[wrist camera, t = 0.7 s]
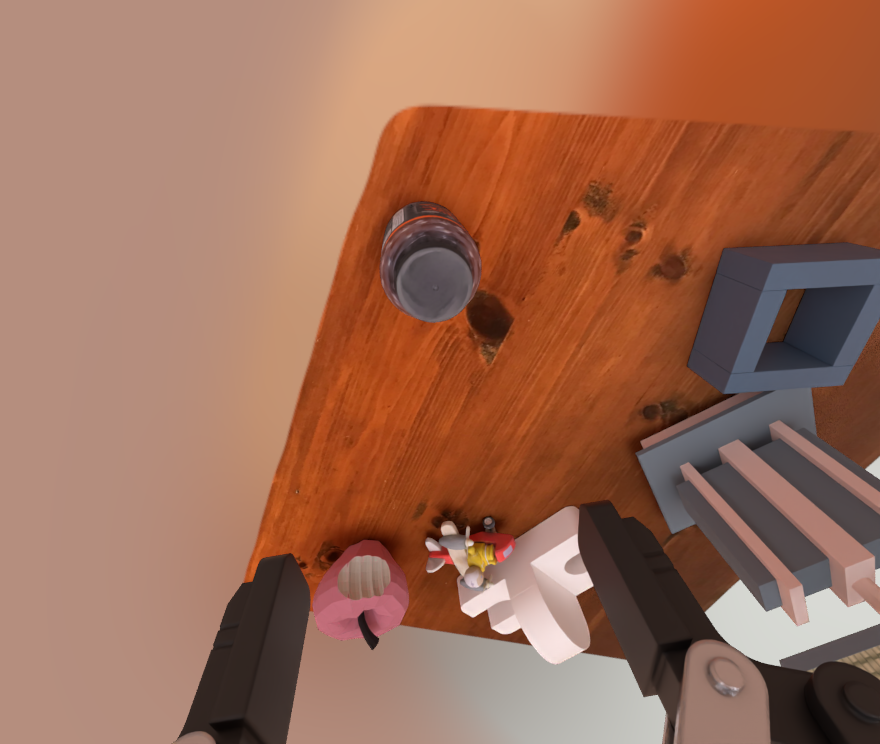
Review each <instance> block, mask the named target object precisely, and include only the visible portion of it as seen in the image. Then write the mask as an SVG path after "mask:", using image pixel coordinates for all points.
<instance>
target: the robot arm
mask: <svg viewBox="0 0 880 744" xmlns="http://www.w3.org/2000/svg"><path fill="white" fill-rule="evenodd" d="M578 546H579V551H580V555H581V558H582V560H583V563H584V565H585V567H586V570H587V572H588V574H589V576H590V579H591V581H592V583H593V585H594V587H595V590H596V592H597V594H598V596H599V599H600V601H601V603H602V605H603V608H604V610H605V612H606V614H607V616H608V619H609V621H610V623H611V625H612V628H613V630H614V632H615V634H616V636H617V639H618V641H619V643H620V645H621V648H622V650H623V652H624V654H625V657H626V659H627V661H628V663H629V665H630V668H631V670H632V672H633V674H634V676H635V679H636V681H637V683H638V685H639V688H640V690H641V692H642V694H643V697H647V696H653V695H658V696H659V698H660V700H661V702H662V704H663V706H664V708H665V710H666V717H665V725H664V734H663V742H662V744H880V680H879V679H878V678H877V677H875V676H873V675H872V674H870V673H869V672H867V671H865V670H863V669H861V668H859V667H856V666H854V665H851V664H848V663H844V662H838V661H829V662H825V663H823V664H821V665H819V666H818V667H817V668H816V669H815V671H814V672H807V671H802V670H796V669H791V668H785V667H780V666H774V665H769V664H765V663H761V662H758V661H755V660H753V659H751V658H749V657H747V656H745V655H744V654H743V653H741V652H740V651H739V650H737V649H735V648H734V647H732V646H731V645H730V644H728V643H727V642H726V641H725V640H724V639H723V638H722V637H721V636H720V634H719V633H718V632H717V631H716V629H715V628H714V626H713V625H712V623H711V622H710V620H709V619H708V617H707V616H706V614H705V613H704V611H703V610H702V608H701V606H700V605H699V603H698V602H697V600H696V599H695V597H694V596H693V594H692V593H691V591H690V590H689V588H688V587H687V585H686V584H685V582H684V581H683V579H682V578H681V576H680V575H679V573H678V571H677V570H676V569H674V566H673V564H672V562H671V561H670V559H669V558H668V556H667V555H666V554H665V553H664V551H663V549H662V547H661V546H660V544H659V543H658V541H657V540H656V538H655V536H654V535H653V533H652V532H651V531H650V530H649V529H648V528H646V527H645V526H644V525H643V524H641V523H640V522H639V521H638V520H637V519H635V518H634V517H629V518H623V519H621V517H620V516H619V514H618V512H617V511H616V509H615V507H614V506H613V504H612V503H611V502H610V501H609V500H603V501H597V502H591V503H585V504H581V505H580V508H579V524H578ZM309 611H310V590H309V586H308V584H307V582H306V580H305V577H304V575H303V573H302V571H301V569H300V567H299V565H298V563H297V561H296V559H295V557H294V556H293V554H291V553H289V554H283V555H278V556H272V557H266V558H263V559H261V561H260V562H259V564H258V567H257V570H256V573H255V576H254V579H253V582H247V583H242V585H241V586H240V587H239V589H238V590H237V592H236V593H235V595H234V596H233V597H232V599H231V600H230V602H229V603H228V605H227V608H226V610H225V613H224V616H223V619H222V622H221V625H220V631H218V633H217V636H216V639H215V642H214V644H213V646H214V648H213V650H211V653H210V656H209V658H208V661H207V664H206V667H205V670H204V672H203V675H202V678H201V681H200V684H199V686H198V690H197V692H196V695H195V698H194V700H193V704H192V706H191V709H190V712H189V715H188V717H187V720H186V723H185V725H184V727H183V730H182V731H181V734H180V735H179V737H178V739H177V740H176V741H175V742H173V743H172V744H286V740H287V735H288V729H289V723H290V718H291V712H292V706H293V701H294V695H295V690H296V684H297V678H298V673H299V667H300V661H301V655H302V650H303V644H304V638H305V633H306V627H307V622H308V616H309Z"/></svg>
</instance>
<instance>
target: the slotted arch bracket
mask: <svg viewBox="0 0 880 744" xmlns="http://www.w3.org/2000/svg"><path fill="white" fill-rule="evenodd" d="M578 524H579V509H578V508H576V507H574V506H568V507H565V508H563V509H562V510H560V511H558V512H557V513H555V514H554V515H552V516H551V517H549V518H548V519H546V520H545V521H543V522H541V523H540V524H538V525H537V526H535V527H534V528H532V529H531V530H529V531H528V532H526V533H525V534H523V535H521V536H520V537H518V538H517V539H515V542H516V546H515V548H514V550H513V552H512V553H511V554H510V555H509V557H508V558H506V559H505V560H504V561H502V562H500V563H499V562H498V561H497V563H496V565H493V564H490V565H489V564H488V565H487V566H485V571H484V572H483V576H484V578H486V579H488V578H489V575H492V580H491V581H490V582H493V583H494V587H492V588H490V587H489V588H487V590H485V591H484V592H483V591H474V590H470V589H467V588H465V587H464V586H462V585H461V584H460V580H461V579H463V576H462V575H460V576H459V577H458V578H457V584H458V591H459V598H460V605H461V610H462V611H463V612H464V613H466V614H468V615H469V616H471V617H475V616H477V615H478V614H480V613H481V612H483V611H485V610H486V609H488V614H489V619H490V624H491V628H492V629H494V630H496V631H497V632H499V633H501V634H509V633H512V632H514V631H516V630H518V629H519V628H522V630H523V632H524V633H525V635H526V636H527V638H528V640H529V641H530V643H531V644H532V645H533V647H534V648H535V649H536V651H537V652H538V653H539V654H540V655H541V656H542V657H543V658H544V659H545V660H547V661H548V662H550V663H552V664H559V663H561V662H563V661H565V660H567V659H569V658H571V657H573V656H574V655H576V654H578V653H580V652H582V651H584V650H586V649H587V648H588V647H589V645H590V635H589V630H588V627H587V623H586V620H585V618H584V615H583V613H582V610H581V608H580V605H579V603H578V600H577V598H576V596H577V595H578V594H580V593H582V592H584V591H585V590H587V589H589V588H591V587H592V586H594V585H593V583H592V581H591V579H590V576H589V574H588V572H587V570H586V567H585V565H584V563H583V560H582V558H581V555H580V551H579V546H578ZM482 592H483V593H482Z"/></svg>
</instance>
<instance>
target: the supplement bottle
mask: <svg viewBox="0 0 880 744" xmlns="http://www.w3.org/2000/svg"><path fill="white" fill-rule="evenodd" d="M380 278H381V283H382V286H383V289H384V291H385V293H386V295H387V297H388V298H389V300H390V301H391V302H392V303H393V304H394V305H395V306H396V307H397V308H398V309H399V310H400V311H402V312H403V313H405V314H407V315H409V316H411V317H414V318H416V319H419V320H422V321H426V322H441V321H446V320H448V319H451V318H452V317H454V316H456V315H457V314H459V313H460V312H461V311H462V310H463V309H464V307H465V306H466V305H467V304H468V303H469V302H470V301H471V299H472V298H473V296H474V295H475V293H476V291H477V288H478V286H479V282H480V278H481V258H480V254H479V251H478V248H477V246H476V244H475V242H474V240H473V239H472V237H471V236H470V235H469V233H468V232H467V230H466V229H465V228H464V227H463V226H462V225H461V223H460V222H459V221H458V220H457V218H456V217H455V216H454V215H453V214H452V213H451V212H450V211H449V210H447V209H446V208H445V207H443V206H441V205H439V204H436V203H432V202H423V201H421V202H414V203H410V204H408V205H406V206H404V207H403V208H401V209H400V210H399V211H397V212H396V213H395V215H393V217H392V218H391V219H390V221H389V223H388V225H387V227H386V230H385V234H384V239H383V246H382V253H381V259H380Z"/></svg>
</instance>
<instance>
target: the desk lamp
mask: <svg viewBox="0 0 880 744" xmlns="http://www.w3.org/2000/svg"><path fill="white" fill-rule="evenodd" d="M640 443H641V445H642V447H643V450H641V451H638V452H636V456H637V458H638V460H639V462H640V465H641V467H642V469H643V471H644V474H645V476H646V478H647V480H648V482H649V485H650V487H651V489H652V491H653V494H654V496H655V498H656V500H657V503H658V505H659V507H660V509H661V512H662V514H663V516H664V518H665V521H666V523H667V525H668V527H669V529H670V531H671V533H672V534H673V533H675V532H678V531H680V530H682V529H685V528H687V527H689V526H691V525H694V524H697V525H698V527H699V528H700V529H701V530H702V532H703V533H704V534H705V535H706V537H707V538H708V539H709V540H710V542H711V543H712V544H713V545H714V547H715V548H716V549H717V551H718V552H719V553H720V554H721V556H722V557H723V558H724V559H725V561H726V562H727V563H728V564H729V566H730V567H731V568H732V569H733V571H734V572H735V573H736V574H737V576H738V577H739V578H740V579H741V581H742V582H743V583H744V584H745V586H746V587H747V588H748V589H749V591H750V592H751V593H752V594H753V596H754V597H755V598H756V600H757V601H758V602H759V603H760V605H761V606H762V607H763V608H764V609H765V611H769V610H772V609H774V608H777V607H780V606H781V607H782V608H783V610H784V611H785V612H786V613H787V614H788V615H789V617H790V618H791V619H792V620H793V622H794V623H795V624H796V625H797V626H799V625H802V624H805V623H807V622H809V617H808V612H807V606H806V601H805V597H806V596H808V595H811V594H814V593H816V592H819V591H821V590H824V589H826V588H830V589H831V590H832V591H833V592H834V593H835V594H836V595H837V596H838V597H839V598H840V599H841V600H842V601H843V602H844V603H845V604H846V605H847V606H848V607H850V606H853V605H855V604H858V603H861V602H864V601H866V602H867V603H868V604H869V605H871V606H872V607H873V608H874V609H875V610H876V611H877V612H878V613H879V614H880V588H879V587H878V586H877V585H876V584H875V570H876V569H878V568H880V480H879V479H878V478H876V477H875V476H873V475H872V474H871V473H869V472H868V471H866V470H865V469H863V468H862V467H860V466H859V465H858V464H856V463H855V462H853V461H852V460H850V459H849V458H847V457H846V456H845V455H843V454H842V453H840V452H839V451H837V450H836V449H834V448H833V447H832V446H830V445H829V444H827V443H826V442H824V441H823V440H821V439H820V438H819V437H817V434H816V426H815V417H814V409H813V400H812V392H811V388H799V389H786V390H772V391H759V392H746V393H739V394H737V395H735V396H733V397H731V398H729V399H727V400H725V401H723V402H721V403H719V404H716V405H714V406H712V407H710V408H708V409H706V410H704V411H702V412H700V413H698V414H696V415H694V416H692V417H690V418H688V419H685V420H683V421H681V422H679V423H677V424H675V425H673V426H671V427H669V428H667V429H665V430H663V431H661V432H659V433H657V434H654V435H652V436H650V437H648V438H646V439H644V440H642V441H640ZM829 661H838V662H844V663H848V664H851V665H854V666H856V667H859V668H861V669H863V670H865V671H867V672H869V673H870V674H872V675H873V676H875V677H877V678H878V679H879V680H880V624H878V625H876V626H873V627H870V628H867V629H865V630H862V631H859V632H857V633H853V634H851V635H848V636H845V637H842V638H840V639H837V640H834V641H831V642H828V643H826V644H823V645H820V646H818V647H815V648H812V649H809V650H806V651H804V652H801V653H798V654H796V655H793V656H790V657H787V658H785V659H782V660H780V664H781V667H785V668H791V669H796V670H802V671H807V672H814V671H815V669H816V668H817V667H818V666H819V665H821V664H823V663H825V662H829Z"/></svg>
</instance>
